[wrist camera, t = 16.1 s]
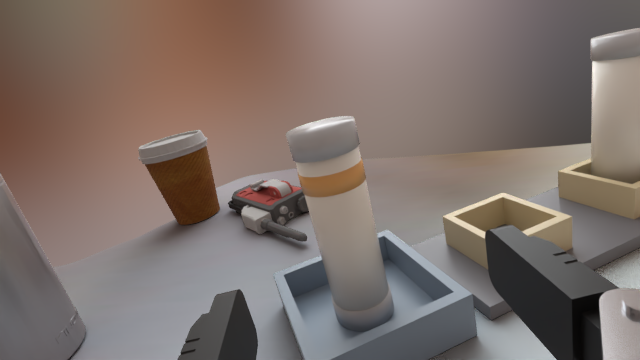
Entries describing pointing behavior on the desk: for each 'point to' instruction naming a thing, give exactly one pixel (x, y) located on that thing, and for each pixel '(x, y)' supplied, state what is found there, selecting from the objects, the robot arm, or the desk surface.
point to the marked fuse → (343, 220)
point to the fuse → (616, 106)
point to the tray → (404, 325)
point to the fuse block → (540, 229)
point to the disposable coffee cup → (183, 175)
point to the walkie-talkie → (270, 206)
